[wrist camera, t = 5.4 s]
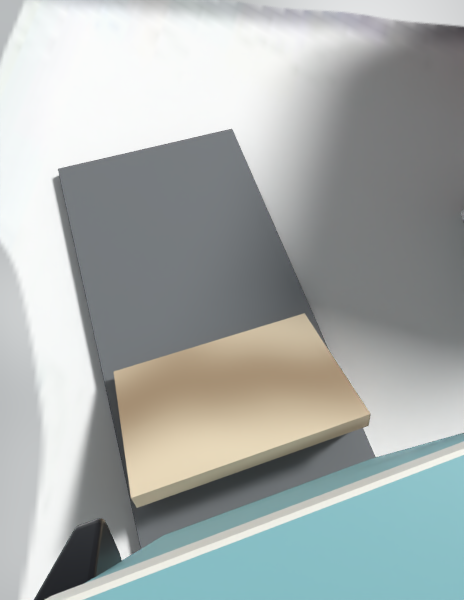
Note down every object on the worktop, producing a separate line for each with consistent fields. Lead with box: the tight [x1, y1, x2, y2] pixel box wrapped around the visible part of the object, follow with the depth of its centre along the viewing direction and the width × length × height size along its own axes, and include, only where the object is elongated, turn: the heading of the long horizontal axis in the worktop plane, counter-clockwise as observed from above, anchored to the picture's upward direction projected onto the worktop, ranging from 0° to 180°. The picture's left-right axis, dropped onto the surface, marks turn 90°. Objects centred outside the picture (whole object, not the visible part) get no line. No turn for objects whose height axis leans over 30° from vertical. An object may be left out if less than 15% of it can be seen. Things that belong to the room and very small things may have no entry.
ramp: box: [114, 313, 370, 508], centre depth 16 cm, size 5×8×3 cm, turn 108°
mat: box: [58, 129, 376, 549], centre depth 18 cm, size 24×9×1 cm, turn 18°
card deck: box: [45, 433, 464, 600], centre depth 8 cm, size 2×7×10 cm, turn 109°
